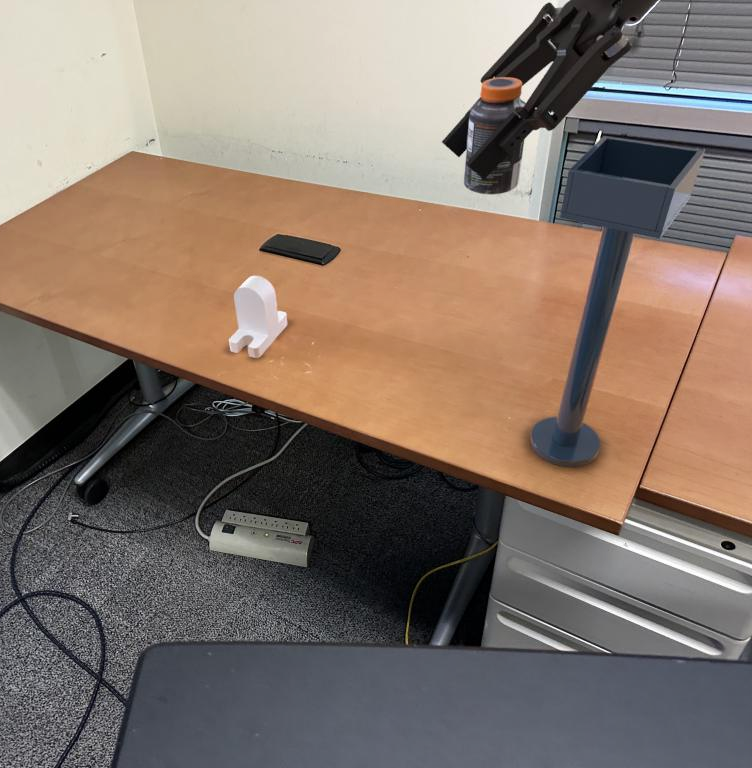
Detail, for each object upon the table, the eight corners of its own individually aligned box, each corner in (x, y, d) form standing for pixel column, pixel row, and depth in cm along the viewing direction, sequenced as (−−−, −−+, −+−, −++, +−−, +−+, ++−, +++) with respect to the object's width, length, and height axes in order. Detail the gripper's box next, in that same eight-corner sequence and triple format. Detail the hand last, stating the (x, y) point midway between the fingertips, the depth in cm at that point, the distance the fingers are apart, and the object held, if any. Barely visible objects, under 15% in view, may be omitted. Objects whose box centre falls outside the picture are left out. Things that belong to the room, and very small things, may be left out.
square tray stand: (613, 437, 83) (705, 149, 60) (586, 480, 78) (675, 188, 56) (543, 411, 88) (603, 135, 65) (514, 450, 83) (568, 170, 60)
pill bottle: (530, 184, 77) (546, 79, 70) (491, 201, 75) (503, 95, 68) (489, 169, 81) (500, 69, 74) (452, 185, 79) (459, 83, 72)
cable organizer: (288, 323, 109) (283, 268, 103) (258, 358, 103) (250, 303, 97) (260, 316, 112) (253, 262, 105) (228, 351, 105) (219, 296, 99)
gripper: (566, -73, 72) (409, 113, 81) (686, -50, 57) (477, 174, 67) (604, -24, 75) (449, 149, 85) (725, 10, 61) (522, 214, 70)
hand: (462, 160), depth 76 cm, fingers closed on pill bottle, 6 cm apart
